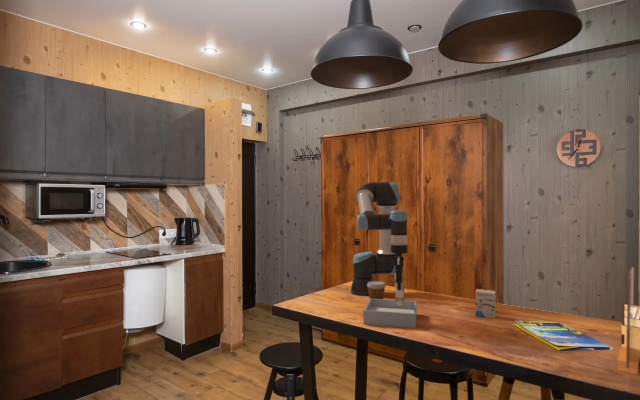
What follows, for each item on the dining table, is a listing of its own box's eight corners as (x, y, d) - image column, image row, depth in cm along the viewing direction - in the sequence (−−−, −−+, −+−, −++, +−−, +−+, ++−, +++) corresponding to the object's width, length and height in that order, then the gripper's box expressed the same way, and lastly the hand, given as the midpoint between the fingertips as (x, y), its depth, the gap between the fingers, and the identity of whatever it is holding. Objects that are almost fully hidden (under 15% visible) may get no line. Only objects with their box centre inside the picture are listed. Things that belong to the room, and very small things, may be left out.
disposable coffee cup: (385, 303, 199) (384, 280, 198) (386, 309, 189) (386, 285, 189) (366, 303, 199) (366, 280, 199) (367, 308, 190) (367, 284, 190)
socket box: (370, 310, 186) (369, 298, 186) (416, 313, 180) (416, 301, 180) (363, 324, 167) (363, 310, 167) (415, 328, 161) (415, 314, 161)
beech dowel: (395, 302, 175) (395, 272, 175) (404, 303, 174) (404, 272, 174) (395, 305, 171) (394, 274, 171) (404, 305, 170) (403, 274, 170)
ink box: (474, 316, 176) (474, 291, 176) (476, 313, 180) (475, 288, 180) (495, 319, 172) (495, 293, 172) (495, 315, 176) (495, 290, 176)
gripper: (392, 242, 182) (392, 291, 181) (388, 246, 165) (389, 299, 165) (408, 242, 180) (409, 291, 179) (406, 246, 163) (407, 300, 163)
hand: (399, 295), depth 172 cm, fingers closed on beech dowel, 4 cm apart
